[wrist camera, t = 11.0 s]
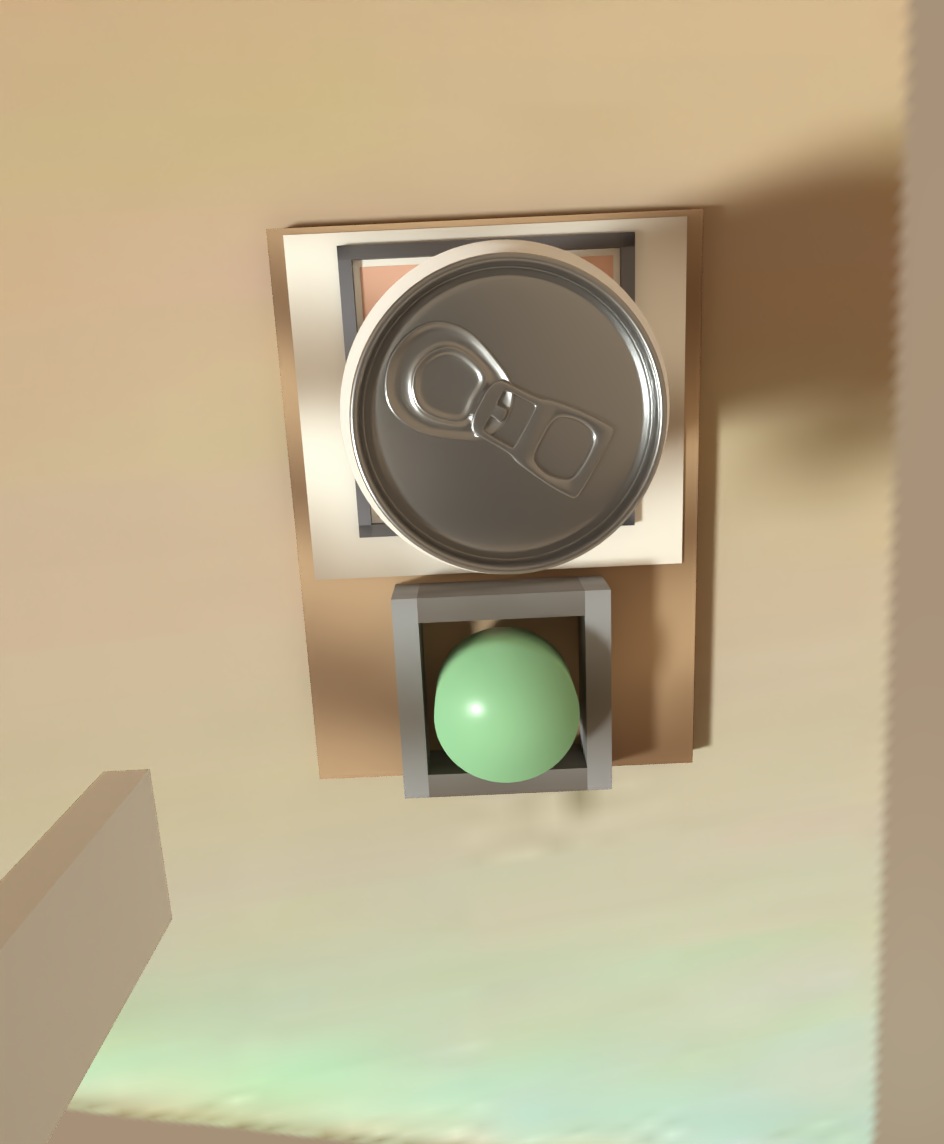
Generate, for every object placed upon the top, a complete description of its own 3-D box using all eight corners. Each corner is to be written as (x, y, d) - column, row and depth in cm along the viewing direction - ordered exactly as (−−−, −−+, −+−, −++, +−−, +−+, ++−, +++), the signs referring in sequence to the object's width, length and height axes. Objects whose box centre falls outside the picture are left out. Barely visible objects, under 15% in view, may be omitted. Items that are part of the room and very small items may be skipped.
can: (446, 241, 26) (429, 149, 14) (633, 346, 27) (763, 341, 15) (350, 435, 27) (263, 496, 16) (531, 529, 28) (577, 656, 16)
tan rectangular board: (272, 232, 27) (251, 220, 24) (696, 212, 26) (720, 198, 24) (323, 768, 31) (311, 805, 28) (686, 752, 31) (706, 787, 28)
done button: (432, 629, 28) (430, 650, 26) (570, 623, 28) (579, 644, 26) (439, 756, 29) (438, 785, 27) (573, 750, 29) (580, 779, 27)
